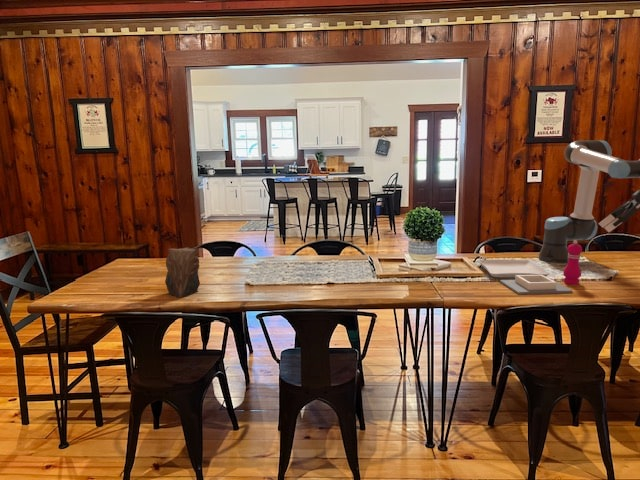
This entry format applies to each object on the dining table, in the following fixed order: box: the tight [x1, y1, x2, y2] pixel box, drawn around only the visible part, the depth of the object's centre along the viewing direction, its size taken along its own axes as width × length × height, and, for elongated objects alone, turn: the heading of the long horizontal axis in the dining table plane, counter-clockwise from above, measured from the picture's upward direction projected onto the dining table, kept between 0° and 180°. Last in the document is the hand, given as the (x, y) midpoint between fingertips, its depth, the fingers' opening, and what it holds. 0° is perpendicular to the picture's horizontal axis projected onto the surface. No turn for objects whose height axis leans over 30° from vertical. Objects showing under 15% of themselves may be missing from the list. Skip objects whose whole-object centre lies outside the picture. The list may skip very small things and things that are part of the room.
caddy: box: [499, 275, 573, 295], centre depth 206 cm, size 18×24×4 cm
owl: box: [164, 246, 201, 299], centre depth 203 cm, size 13×13×20 cm
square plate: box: [477, 259, 550, 279], centre depth 230 cm, size 27×27×4 cm
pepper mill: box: [562, 240, 583, 286], centre depth 210 cm, size 7×7×20 cm
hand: (603, 228), depth 208 cm, fingers open, 13 cm apart
